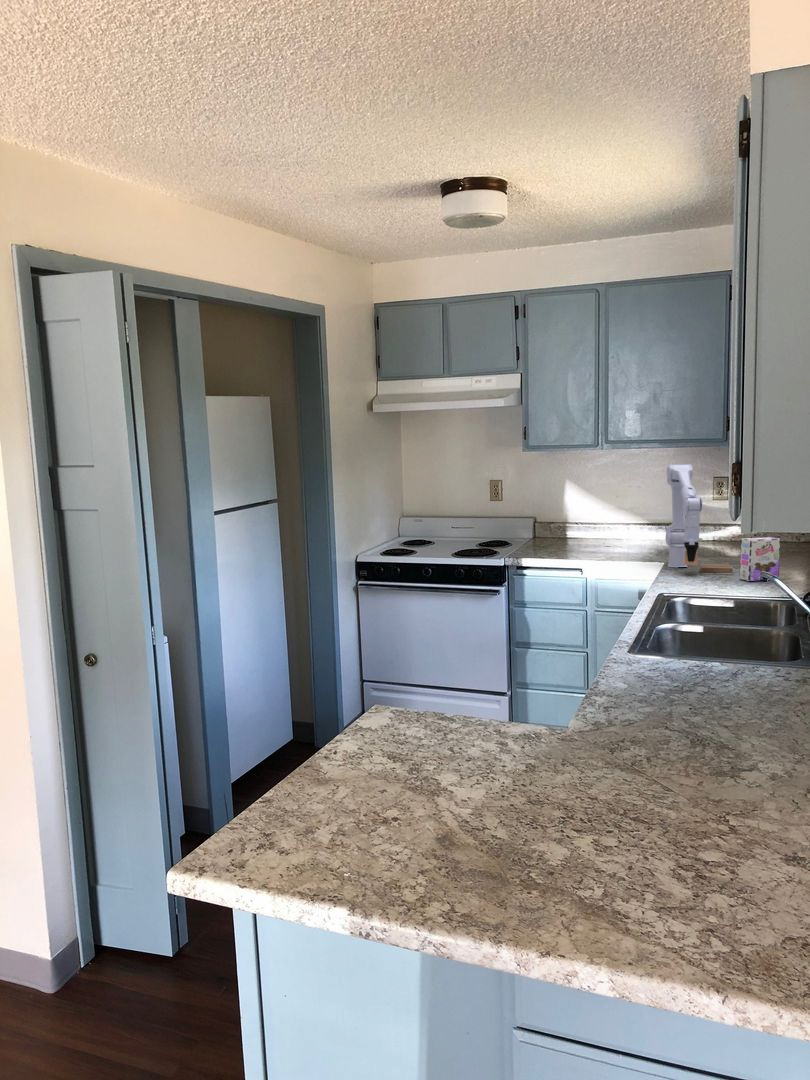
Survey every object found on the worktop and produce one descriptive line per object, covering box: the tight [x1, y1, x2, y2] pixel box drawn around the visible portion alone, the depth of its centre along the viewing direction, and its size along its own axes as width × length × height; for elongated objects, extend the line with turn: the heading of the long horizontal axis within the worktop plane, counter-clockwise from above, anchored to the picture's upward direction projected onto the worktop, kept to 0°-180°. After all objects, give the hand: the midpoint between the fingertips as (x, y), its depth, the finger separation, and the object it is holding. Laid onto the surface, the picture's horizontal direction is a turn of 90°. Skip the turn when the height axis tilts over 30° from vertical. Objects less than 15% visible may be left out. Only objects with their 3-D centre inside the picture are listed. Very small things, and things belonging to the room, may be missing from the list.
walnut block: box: [699, 563, 733, 574], centre depth 345 cm, size 12×12×3 cm
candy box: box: [739, 536, 781, 582], centre depth 323 cm, size 14×6×16 cm, turn 105°
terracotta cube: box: [684, 551, 699, 566], centre depth 339 cm, size 5×5×5 cm
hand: (690, 560), depth 339 cm, fingers closed on terracotta cube, 5 cm apart
